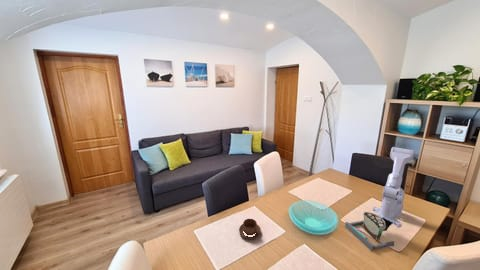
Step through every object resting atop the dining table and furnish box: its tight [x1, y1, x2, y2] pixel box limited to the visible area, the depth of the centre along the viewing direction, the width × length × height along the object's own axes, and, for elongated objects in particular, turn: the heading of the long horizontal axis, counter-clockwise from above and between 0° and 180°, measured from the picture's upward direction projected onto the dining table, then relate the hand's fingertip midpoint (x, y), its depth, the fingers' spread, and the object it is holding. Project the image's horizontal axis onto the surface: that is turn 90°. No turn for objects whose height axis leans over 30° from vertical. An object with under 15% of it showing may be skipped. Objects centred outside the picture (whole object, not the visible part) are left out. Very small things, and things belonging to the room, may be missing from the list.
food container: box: [362, 211, 386, 242], centre depth 101 cm, size 12×6×10 cm, turn 4°
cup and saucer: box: [238, 218, 262, 240], centre depth 103 cm, size 12×12×6 cm
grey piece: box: [344, 219, 395, 252], centre depth 101 cm, size 14×17×4 cm
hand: (383, 229), depth 103 cm, fingers closed
